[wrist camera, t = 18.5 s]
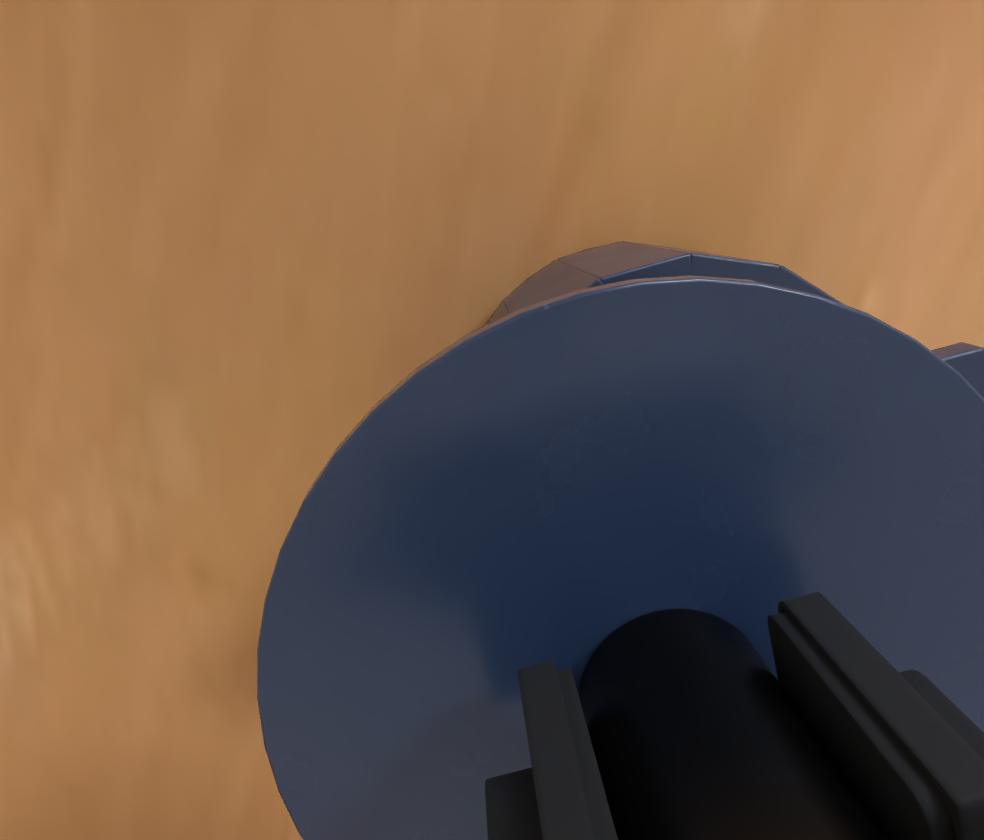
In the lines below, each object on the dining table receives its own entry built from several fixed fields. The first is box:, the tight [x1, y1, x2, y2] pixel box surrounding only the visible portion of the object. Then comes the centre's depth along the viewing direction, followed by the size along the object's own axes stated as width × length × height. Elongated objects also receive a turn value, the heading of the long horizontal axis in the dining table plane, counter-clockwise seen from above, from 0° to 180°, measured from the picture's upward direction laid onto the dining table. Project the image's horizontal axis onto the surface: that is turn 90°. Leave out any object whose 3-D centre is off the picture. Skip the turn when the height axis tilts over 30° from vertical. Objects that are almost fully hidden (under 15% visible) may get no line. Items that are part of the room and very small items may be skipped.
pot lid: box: [257, 276, 984, 840], centre depth 10 cm, size 12×12×7 cm
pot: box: [487, 242, 984, 398], centre depth 24 cm, size 11×17×8 cm
